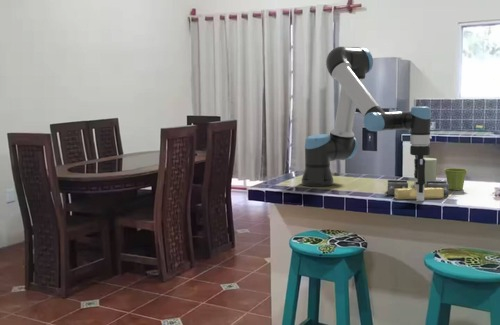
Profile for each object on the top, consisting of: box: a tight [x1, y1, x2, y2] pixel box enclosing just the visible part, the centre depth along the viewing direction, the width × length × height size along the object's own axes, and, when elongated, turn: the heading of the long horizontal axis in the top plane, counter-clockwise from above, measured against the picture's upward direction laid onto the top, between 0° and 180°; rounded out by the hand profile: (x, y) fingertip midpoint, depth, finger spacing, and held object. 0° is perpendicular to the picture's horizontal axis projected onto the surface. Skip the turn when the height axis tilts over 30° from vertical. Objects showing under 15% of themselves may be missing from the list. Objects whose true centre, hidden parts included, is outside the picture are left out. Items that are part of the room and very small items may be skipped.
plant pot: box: [443, 167, 468, 191], centre depth 224 cm, size 9×9×9 cm
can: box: [423, 157, 438, 186], centre depth 240 cm, size 9×9×12 cm
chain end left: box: [387, 179, 409, 196], centre depth 217 cm, size 8×8×5 cm
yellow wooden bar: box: [393, 187, 444, 200], centre depth 207 cm, size 19×4×4 cm, turn 94°
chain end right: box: [425, 180, 450, 197], centre depth 213 cm, size 8×8×5 cm
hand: (418, 197), depth 208 cm, fingers open, 13 cm apart
